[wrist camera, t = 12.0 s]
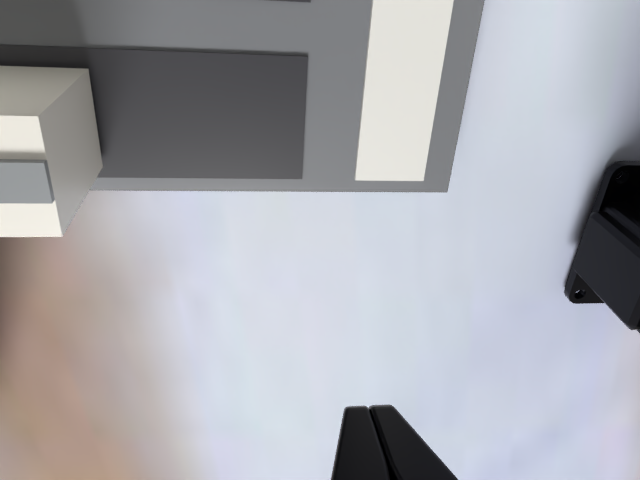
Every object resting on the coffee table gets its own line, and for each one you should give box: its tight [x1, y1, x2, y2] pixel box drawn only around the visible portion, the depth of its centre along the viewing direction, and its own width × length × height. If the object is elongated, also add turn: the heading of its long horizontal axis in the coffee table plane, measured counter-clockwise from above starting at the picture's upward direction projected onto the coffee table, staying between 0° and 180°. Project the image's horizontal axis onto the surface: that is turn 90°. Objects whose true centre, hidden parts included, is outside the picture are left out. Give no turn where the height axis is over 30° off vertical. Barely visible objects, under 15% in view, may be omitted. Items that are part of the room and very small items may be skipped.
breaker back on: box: [0, 66, 103, 237], centre depth 14 cm, size 3×3×5 cm
